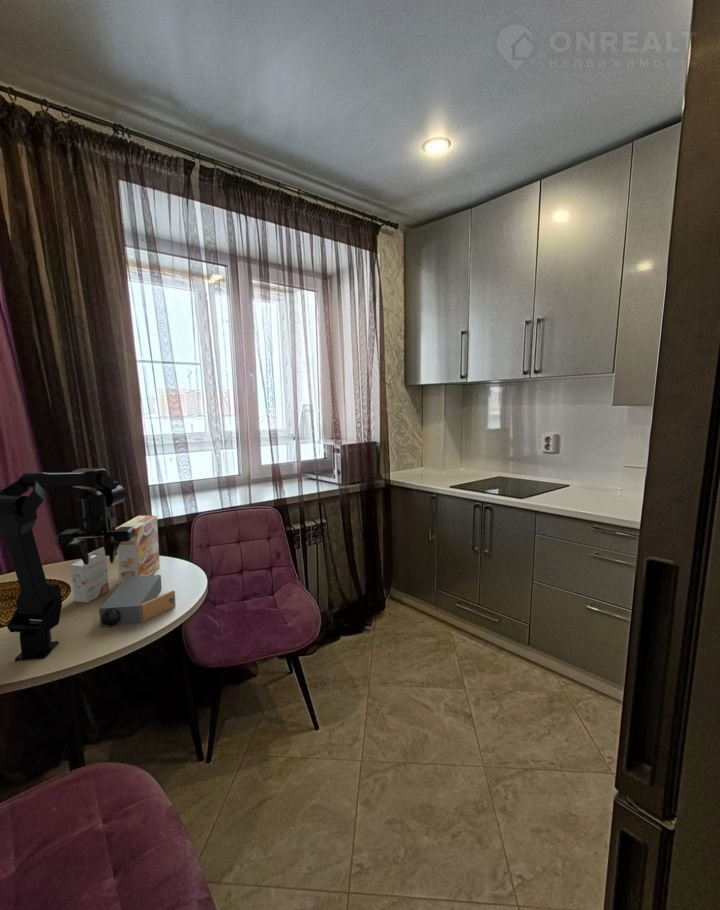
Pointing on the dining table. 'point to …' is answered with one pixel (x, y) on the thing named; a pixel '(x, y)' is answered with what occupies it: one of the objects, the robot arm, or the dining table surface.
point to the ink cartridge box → (90, 577)
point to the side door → (158, 605)
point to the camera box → (129, 600)
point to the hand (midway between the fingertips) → (99, 563)
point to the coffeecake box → (139, 549)
